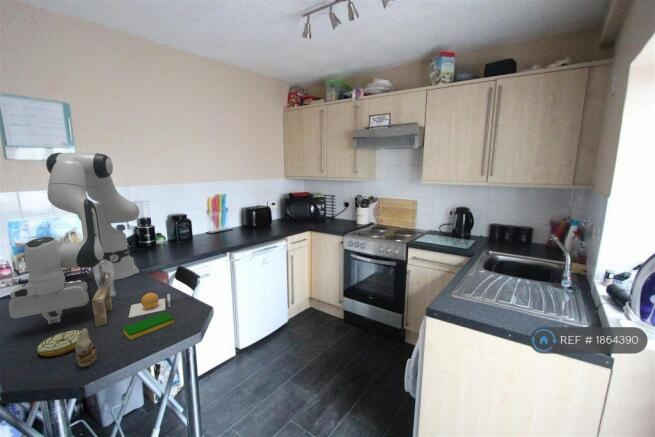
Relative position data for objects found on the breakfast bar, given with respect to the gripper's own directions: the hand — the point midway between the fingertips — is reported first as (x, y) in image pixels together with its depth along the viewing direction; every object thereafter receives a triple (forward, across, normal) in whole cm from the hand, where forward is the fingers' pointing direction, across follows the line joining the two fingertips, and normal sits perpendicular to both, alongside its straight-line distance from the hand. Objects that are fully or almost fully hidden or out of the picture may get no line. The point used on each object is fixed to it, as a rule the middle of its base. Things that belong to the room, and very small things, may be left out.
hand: (54, 322), depth 104 cm
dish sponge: (+2, -29, +18) cm, 34 cm away
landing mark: (+2, -28, 0) cm, 28 cm away
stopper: (+2, -36, 0) cm, 36 cm away
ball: (-1, -29, +1) cm, 29 cm away
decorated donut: (+2, -6, +18) cm, 19 cm away
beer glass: (+2, -12, -23) cm, 26 cm away
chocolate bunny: (+2, -14, +30) cm, 33 cm away
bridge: (+2, -14, 0) cm, 14 cm away
